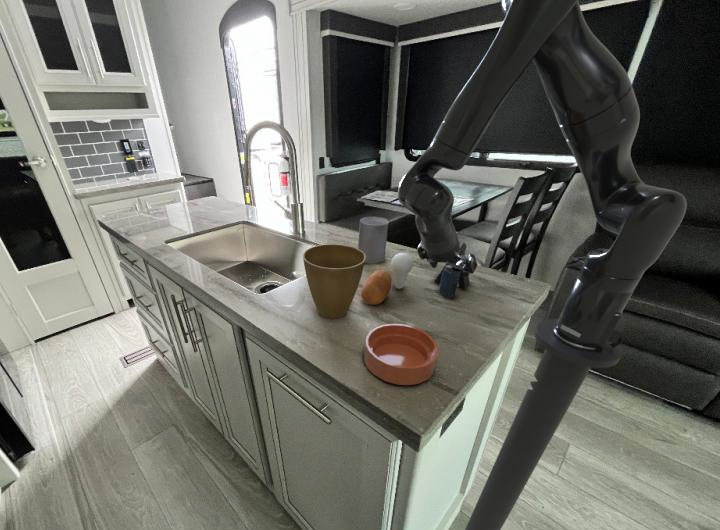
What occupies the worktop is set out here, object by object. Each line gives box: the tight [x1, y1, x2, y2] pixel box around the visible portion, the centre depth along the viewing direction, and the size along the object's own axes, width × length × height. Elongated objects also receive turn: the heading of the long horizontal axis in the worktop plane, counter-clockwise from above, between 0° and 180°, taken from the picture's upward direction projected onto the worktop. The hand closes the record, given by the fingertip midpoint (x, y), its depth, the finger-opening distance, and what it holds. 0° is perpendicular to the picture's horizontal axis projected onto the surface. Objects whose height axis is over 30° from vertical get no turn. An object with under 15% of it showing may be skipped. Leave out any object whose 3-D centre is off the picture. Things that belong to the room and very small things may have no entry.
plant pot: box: [302, 243, 366, 320], centre depth 80 cm, size 15×15×16 cm
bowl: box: [363, 323, 440, 386], centre depth 66 cm, size 14×14×5 cm
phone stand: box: [434, 241, 470, 291], centre depth 95 cm, size 9×6×12 cm, turn 58°
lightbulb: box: [390, 252, 414, 290], centre depth 93 cm, size 6×6×11 cm
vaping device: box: [438, 262, 461, 299], centre depth 89 cm, size 3×5×12 cm, turn 22°
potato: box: [360, 269, 393, 306], centre depth 89 cm, size 7×13×7 cm, turn 153°
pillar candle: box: [357, 216, 389, 265], centre depth 111 cm, size 10×10×15 cm
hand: (450, 269), depth 87 cm, fingers open, 8 cm apart
